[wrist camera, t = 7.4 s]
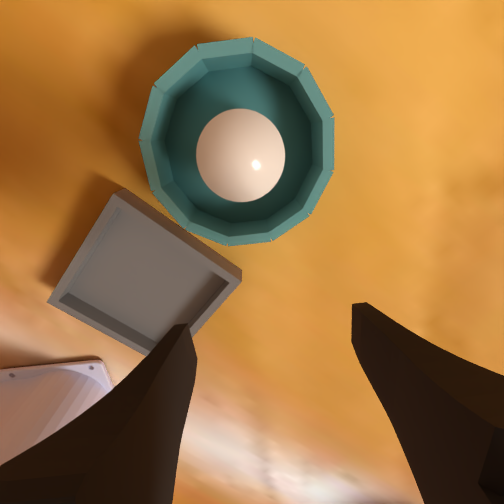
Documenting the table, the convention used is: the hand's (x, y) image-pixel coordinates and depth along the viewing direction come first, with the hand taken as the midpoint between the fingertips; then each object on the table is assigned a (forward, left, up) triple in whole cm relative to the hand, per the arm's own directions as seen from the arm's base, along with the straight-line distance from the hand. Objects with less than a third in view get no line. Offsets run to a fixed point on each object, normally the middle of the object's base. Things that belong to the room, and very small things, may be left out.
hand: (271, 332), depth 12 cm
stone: (-1, +7, -9) cm, 11 cm away
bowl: (-1, +7, -9) cm, 12 cm away
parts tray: (-9, -1, -9) cm, 13 cm away
